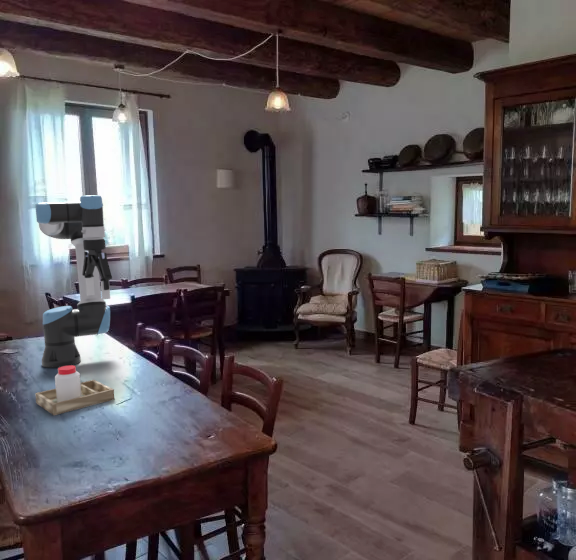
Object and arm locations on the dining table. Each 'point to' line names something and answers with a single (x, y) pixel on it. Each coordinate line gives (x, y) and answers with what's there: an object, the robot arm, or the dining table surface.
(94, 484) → the dining table surface
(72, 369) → the pill bottle
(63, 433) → the dining table surface
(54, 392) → the crate
